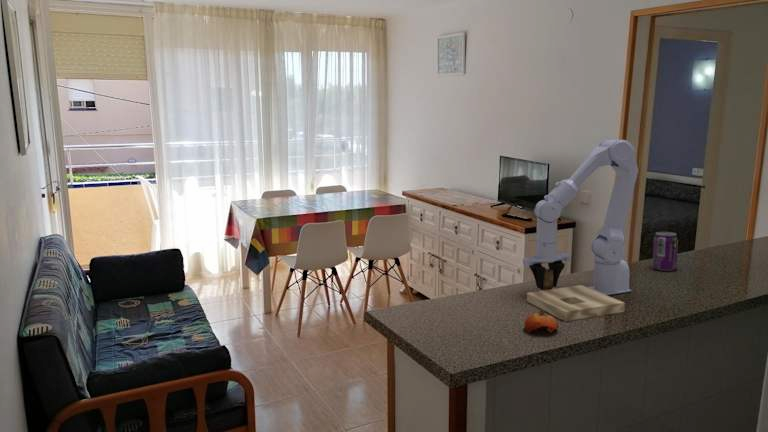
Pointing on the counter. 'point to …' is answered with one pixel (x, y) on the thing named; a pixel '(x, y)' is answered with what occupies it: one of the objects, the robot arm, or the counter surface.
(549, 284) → the peg
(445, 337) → the counter surface
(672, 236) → the beverage can
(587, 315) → the board
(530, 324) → the tomato
